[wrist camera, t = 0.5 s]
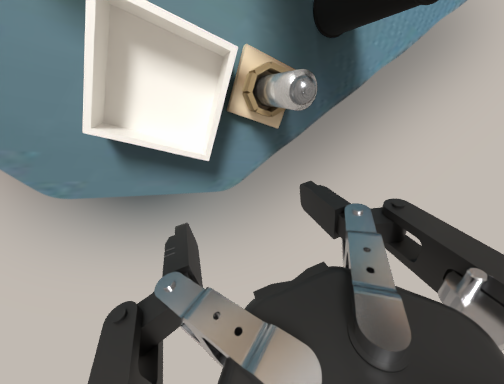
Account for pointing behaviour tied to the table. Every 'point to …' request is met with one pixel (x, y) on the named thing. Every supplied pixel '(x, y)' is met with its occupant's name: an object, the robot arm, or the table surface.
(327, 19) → the aerosol can
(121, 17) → the bin
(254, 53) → the socket base
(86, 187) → the table surface
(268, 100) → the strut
